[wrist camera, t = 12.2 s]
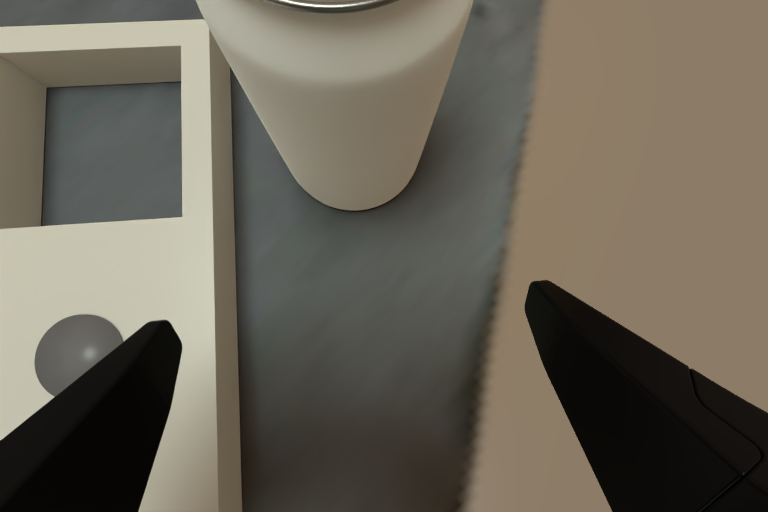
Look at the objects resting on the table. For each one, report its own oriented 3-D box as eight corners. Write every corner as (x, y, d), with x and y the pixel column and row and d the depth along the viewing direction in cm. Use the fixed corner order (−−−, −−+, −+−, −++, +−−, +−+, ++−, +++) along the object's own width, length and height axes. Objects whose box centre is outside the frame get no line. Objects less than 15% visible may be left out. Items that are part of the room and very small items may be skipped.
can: (260, 140, 18) (61, -169, 6) (363, 64, 19) (353, -335, 7) (344, 240, 18) (295, 107, 6) (445, 159, 19) (582, -104, 7)
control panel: (245, 634, 15) (212, 722, 12) (-9, 666, 15) (-115, 767, 12) (229, 56, 19) (200, 4, 16) (21, 65, 18) (-54, 13, 15)
